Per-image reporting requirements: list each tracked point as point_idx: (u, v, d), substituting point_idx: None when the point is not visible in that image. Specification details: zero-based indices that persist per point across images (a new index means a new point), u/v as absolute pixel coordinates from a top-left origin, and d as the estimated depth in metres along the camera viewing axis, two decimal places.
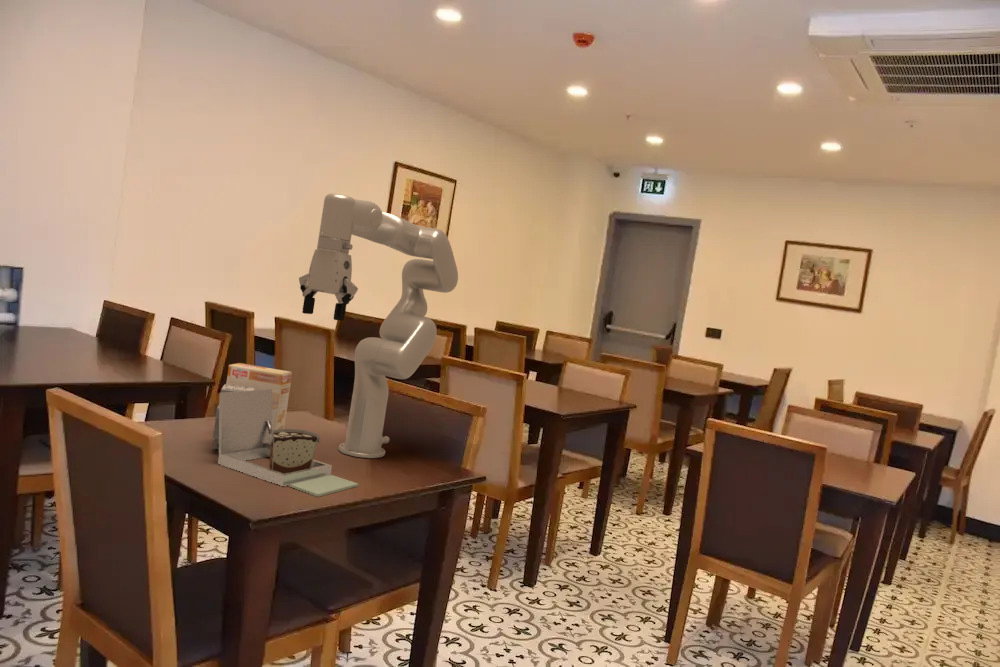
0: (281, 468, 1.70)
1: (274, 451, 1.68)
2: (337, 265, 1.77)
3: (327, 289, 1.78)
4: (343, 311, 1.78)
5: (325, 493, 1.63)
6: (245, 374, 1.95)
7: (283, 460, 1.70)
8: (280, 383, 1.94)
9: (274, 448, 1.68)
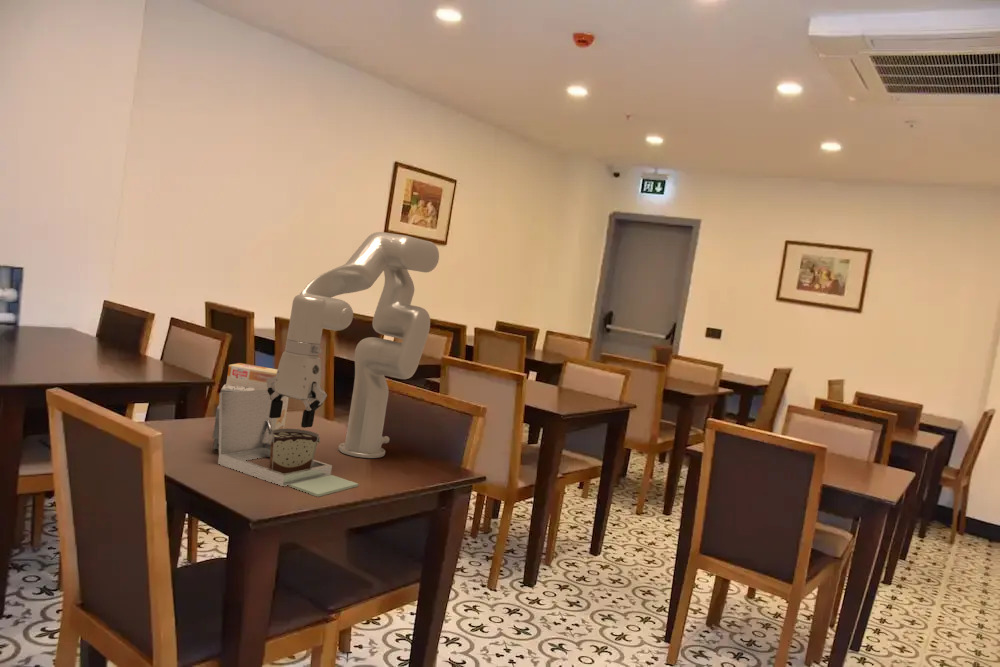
0: (281, 468, 1.70)
1: (274, 451, 1.68)
2: (306, 371, 1.69)
3: (295, 395, 1.70)
4: (311, 418, 1.70)
5: (325, 493, 1.63)
6: (245, 374, 1.95)
7: (283, 460, 1.70)
8: None
9: (274, 448, 1.68)
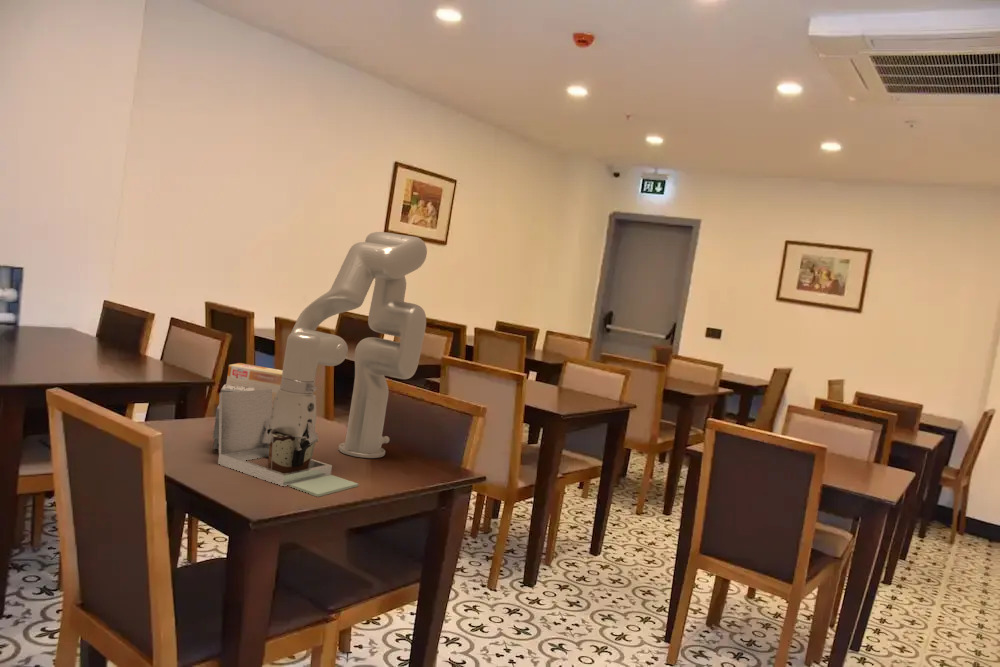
0: (280, 468, 1.70)
1: (273, 451, 1.68)
2: (301, 409, 1.69)
3: (290, 433, 1.71)
4: (302, 457, 1.72)
5: (325, 493, 1.63)
6: (245, 374, 1.95)
7: (282, 459, 1.70)
8: (280, 383, 1.94)
9: (273, 448, 1.68)
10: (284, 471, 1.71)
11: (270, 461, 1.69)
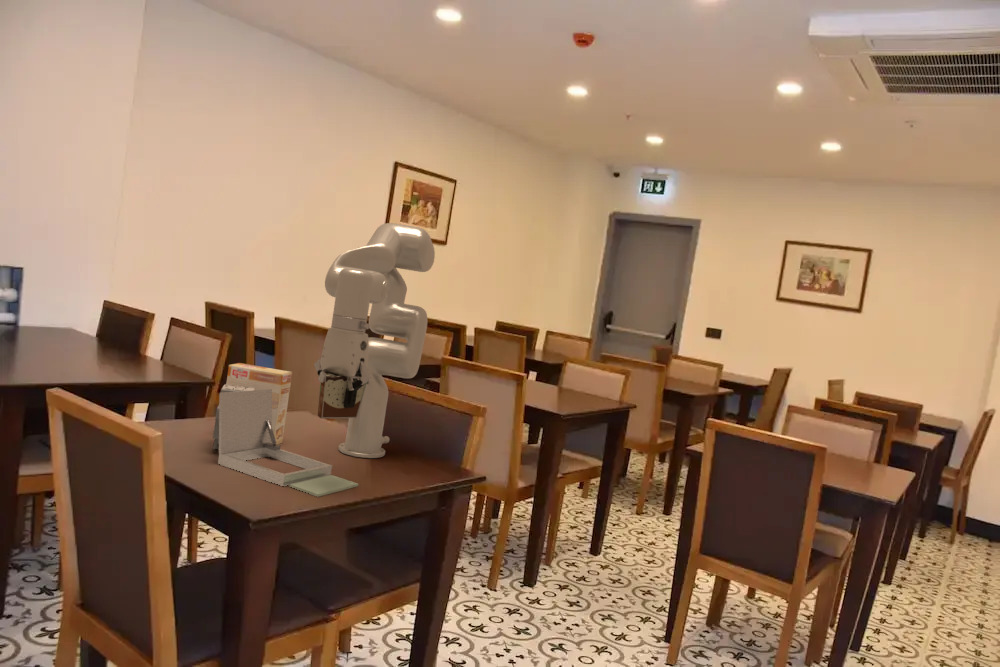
0: (331, 409, 1.64)
1: (325, 390, 1.62)
2: (354, 347, 1.63)
3: (342, 372, 1.65)
4: (354, 398, 1.66)
5: (325, 493, 1.63)
6: (245, 374, 1.95)
7: (333, 400, 1.64)
8: (280, 383, 1.94)
9: (325, 387, 1.62)
10: (335, 412, 1.65)
11: (321, 401, 1.63)
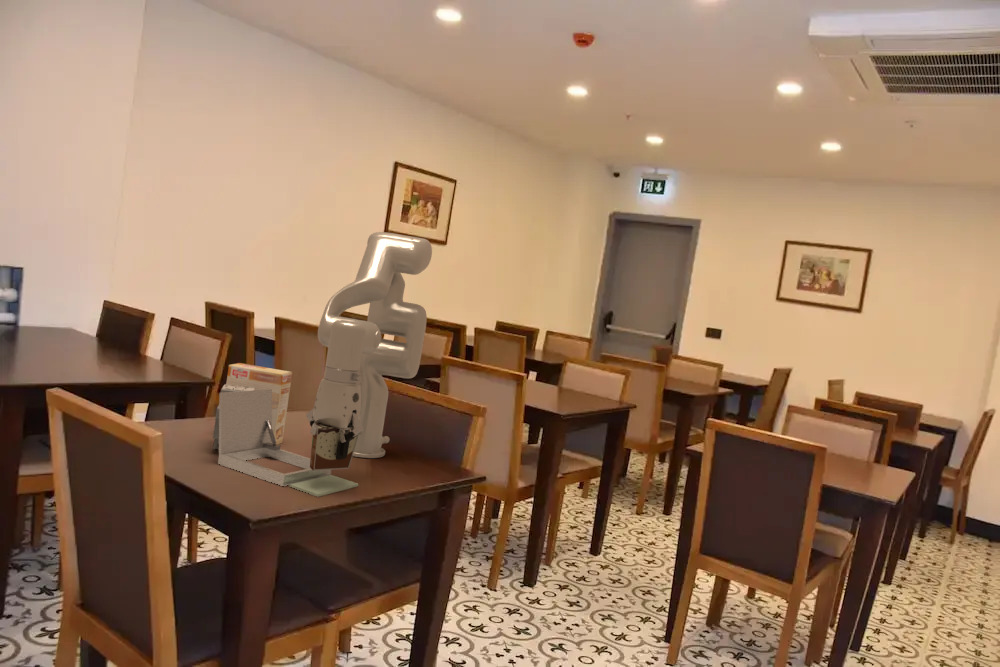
0: (323, 460, 1.65)
1: (317, 443, 1.63)
2: (346, 399, 1.64)
3: (335, 424, 1.65)
4: (346, 449, 1.66)
5: (325, 493, 1.63)
6: (245, 374, 1.95)
7: (325, 452, 1.65)
8: (280, 383, 1.94)
9: (317, 440, 1.63)
10: (327, 464, 1.66)
11: (314, 453, 1.63)
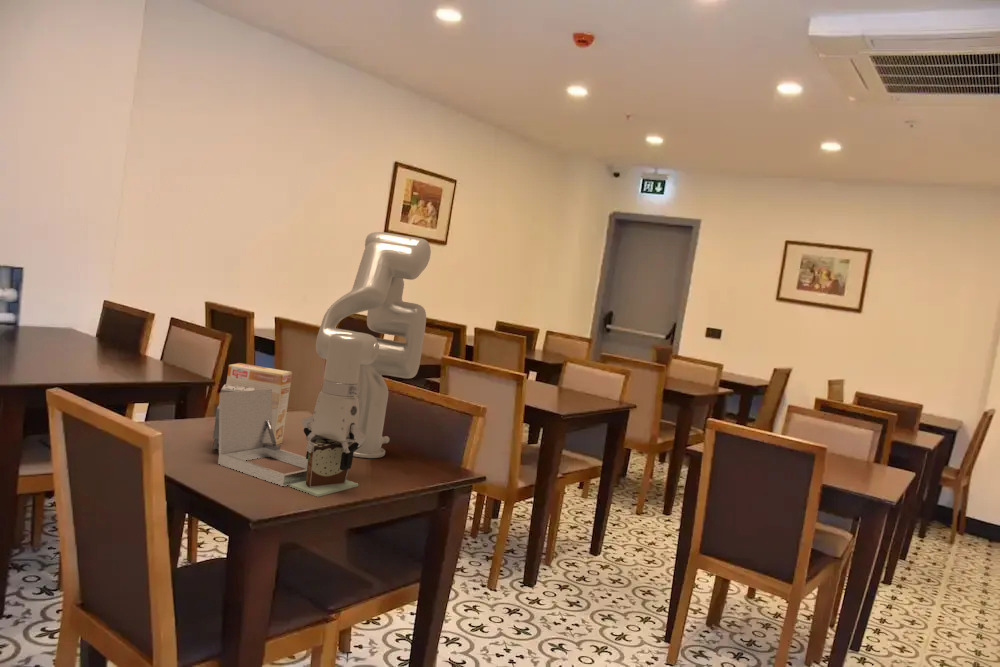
0: (319, 477, 1.66)
1: (313, 460, 1.64)
2: (344, 412, 1.64)
3: (333, 437, 1.66)
4: (350, 460, 1.66)
5: (325, 493, 1.63)
6: (245, 374, 1.95)
7: (321, 469, 1.66)
8: (280, 383, 1.94)
9: (313, 457, 1.63)
10: (323, 481, 1.67)
11: (309, 471, 1.64)
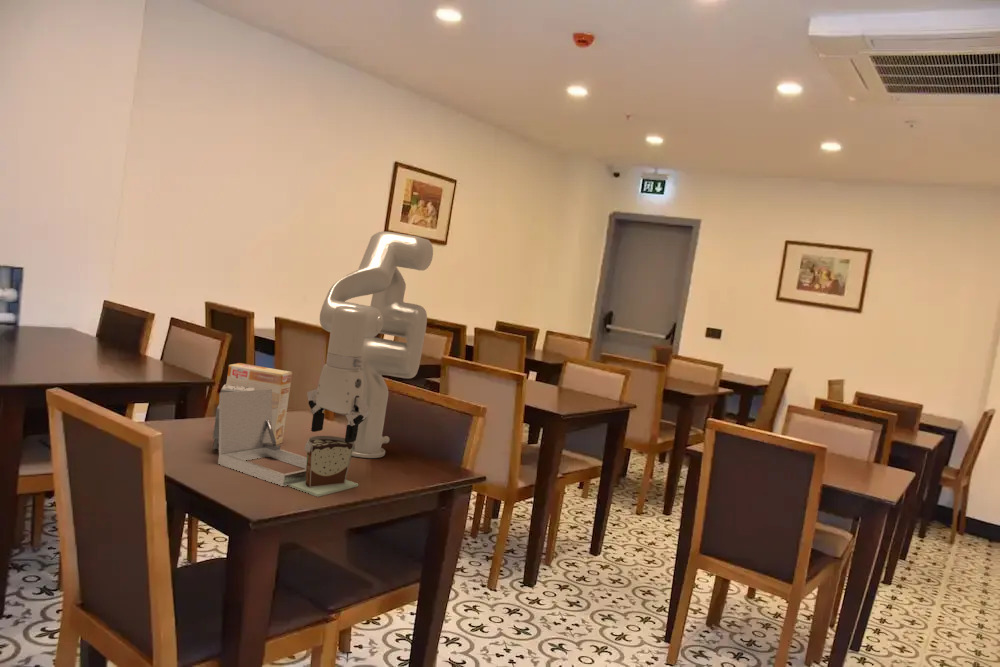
0: (318, 477, 1.66)
1: (312, 460, 1.64)
2: (348, 385, 1.64)
3: (337, 409, 1.66)
4: (355, 432, 1.66)
5: (325, 493, 1.63)
6: (245, 374, 1.95)
7: (320, 469, 1.66)
8: (280, 383, 1.94)
9: (312, 457, 1.64)
10: (322, 480, 1.67)
11: (309, 470, 1.64)
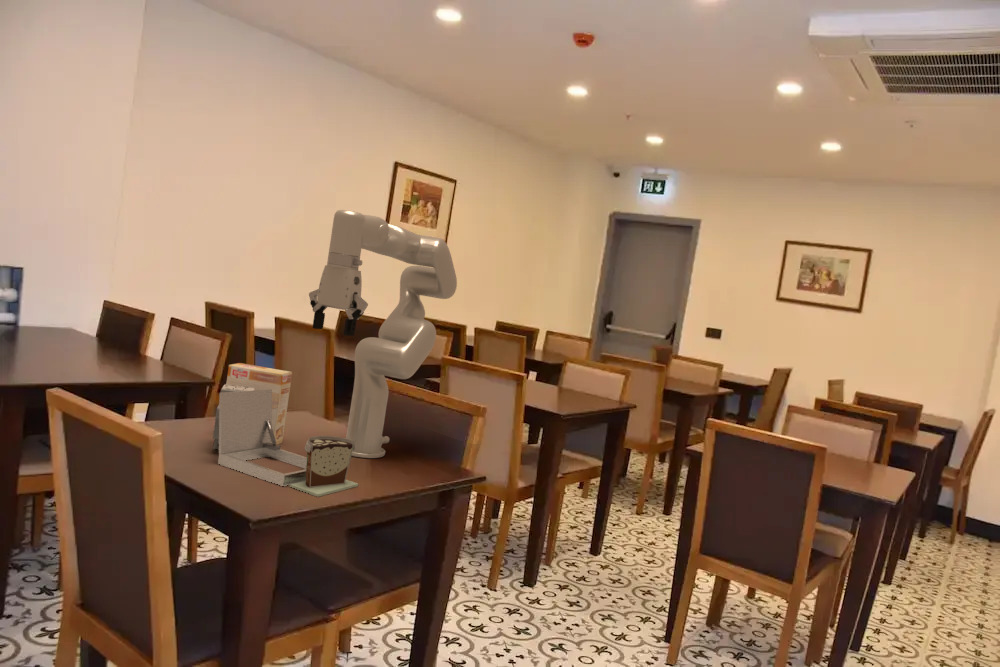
0: (318, 477, 1.66)
1: (312, 460, 1.64)
2: (348, 281, 1.78)
3: (337, 305, 1.79)
4: (353, 326, 1.80)
5: (325, 493, 1.63)
6: (245, 374, 1.95)
7: (320, 469, 1.66)
8: (280, 383, 1.94)
9: (312, 457, 1.64)
10: (322, 480, 1.67)
11: (309, 470, 1.64)
